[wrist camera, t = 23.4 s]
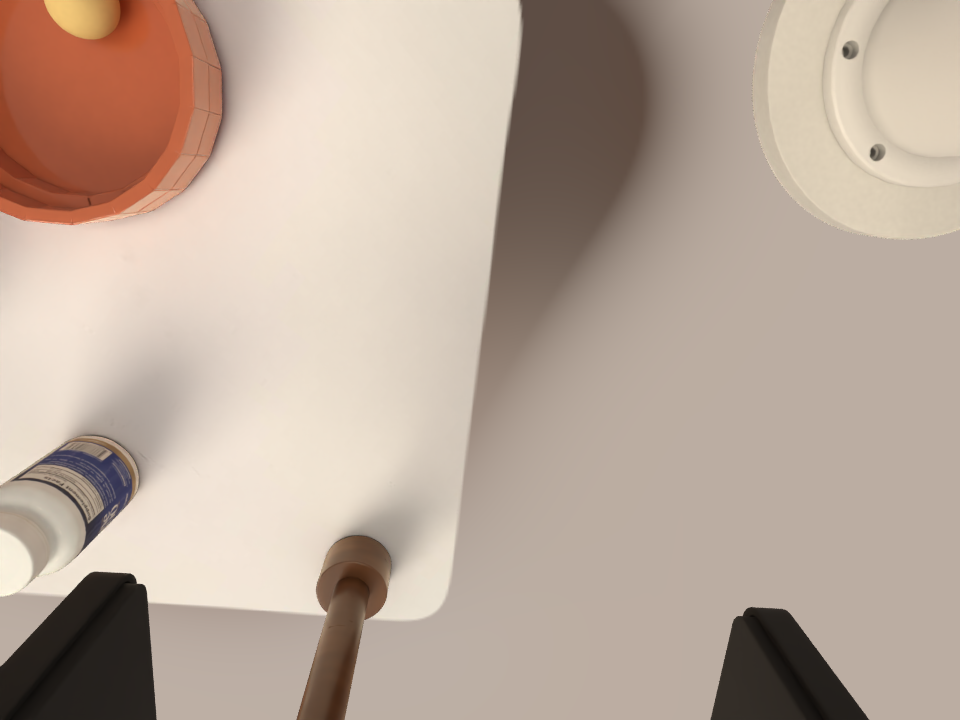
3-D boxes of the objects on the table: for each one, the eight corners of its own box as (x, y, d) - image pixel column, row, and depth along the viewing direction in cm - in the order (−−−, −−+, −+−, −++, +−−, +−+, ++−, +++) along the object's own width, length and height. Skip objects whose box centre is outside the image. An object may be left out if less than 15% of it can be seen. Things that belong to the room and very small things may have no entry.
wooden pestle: (390, 535, 42) (355, 739, 27) (392, 592, 43) (359, 820, 28) (323, 535, 42) (248, 742, 26) (326, 593, 43) (257, 823, 28)
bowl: (224, -57, 32) (189, -94, 28) (228, 229, 36) (197, 236, 32) (-74, -92, 31) (-157, -136, 27) (-37, 205, 35) (-105, 209, 31)
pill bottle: (91, 525, 41) (-16, 627, 31) (35, 459, 39) (-95, 546, 30) (160, 486, 40) (71, 578, 31) (105, 417, 39) (-5, 493, 30)
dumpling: (32, -42, 30) (71, -60, 29) (99, -3, 33) (137, -17, 32) (25, 23, 30) (64, 8, 29) (92, 57, 33) (131, 45, 31)
